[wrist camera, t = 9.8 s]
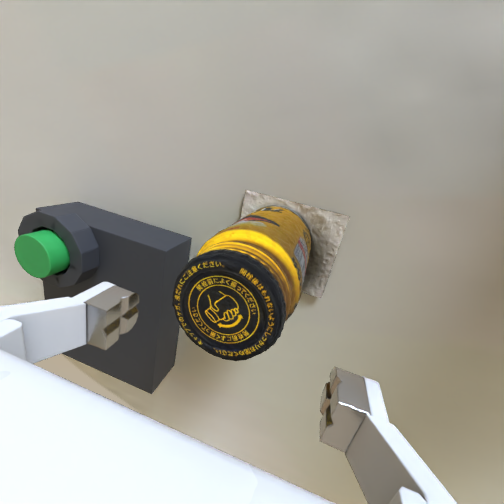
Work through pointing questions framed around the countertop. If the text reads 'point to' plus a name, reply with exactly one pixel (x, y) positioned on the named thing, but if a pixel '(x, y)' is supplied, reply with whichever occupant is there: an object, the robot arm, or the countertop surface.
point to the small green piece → (42, 253)
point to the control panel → (119, 284)
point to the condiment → (256, 275)
